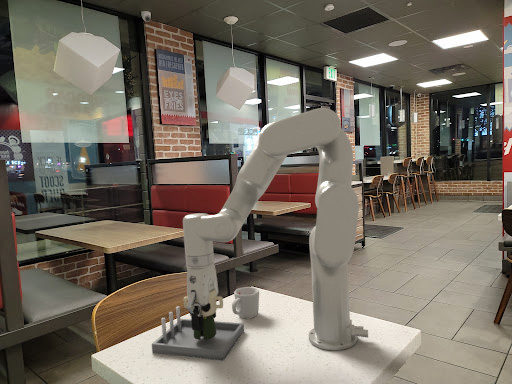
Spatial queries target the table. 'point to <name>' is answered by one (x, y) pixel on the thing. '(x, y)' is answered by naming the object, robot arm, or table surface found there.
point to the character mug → (207, 316)
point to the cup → (246, 302)
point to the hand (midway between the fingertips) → (204, 323)
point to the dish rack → (185, 345)
